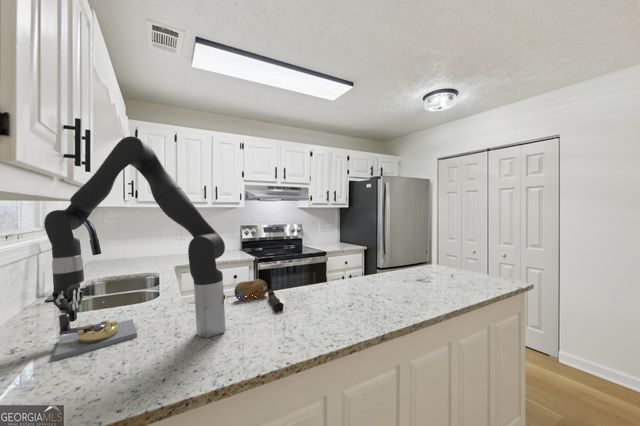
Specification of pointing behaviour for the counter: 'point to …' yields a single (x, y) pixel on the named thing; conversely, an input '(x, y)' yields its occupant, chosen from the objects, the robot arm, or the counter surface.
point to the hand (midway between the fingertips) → (72, 320)
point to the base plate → (72, 347)
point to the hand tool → (275, 302)
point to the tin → (251, 289)
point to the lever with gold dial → (88, 330)
